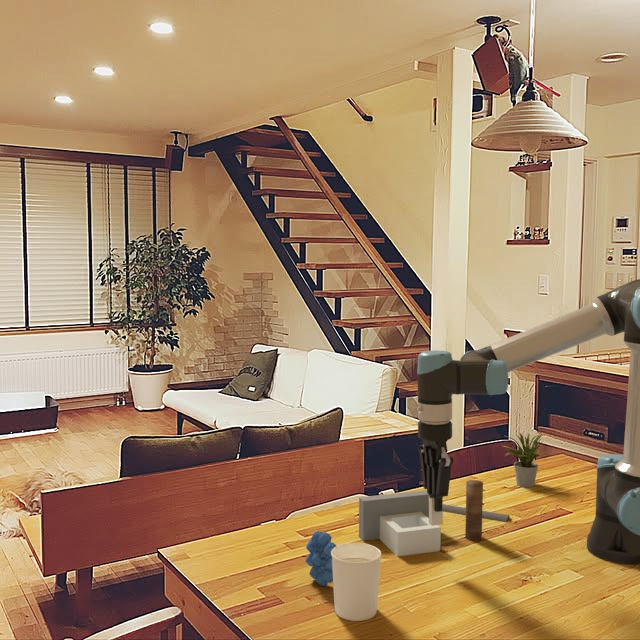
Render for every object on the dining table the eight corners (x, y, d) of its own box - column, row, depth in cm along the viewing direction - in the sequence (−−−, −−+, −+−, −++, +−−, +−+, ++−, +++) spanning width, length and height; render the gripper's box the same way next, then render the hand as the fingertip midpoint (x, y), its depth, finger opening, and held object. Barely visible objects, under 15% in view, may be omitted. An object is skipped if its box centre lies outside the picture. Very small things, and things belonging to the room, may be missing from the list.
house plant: (521, 473, 237) (522, 423, 236) (559, 484, 227) (561, 431, 225) (493, 482, 228) (494, 430, 227) (531, 493, 218) (533, 439, 216)
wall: (437, 531, 188) (437, 493, 187) (363, 540, 182) (363, 501, 181) (431, 527, 191) (432, 489, 190) (358, 536, 185) (359, 497, 184)
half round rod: (506, 524, 194) (506, 518, 194) (435, 512, 203) (435, 506, 203) (510, 519, 198) (510, 513, 198) (440, 507, 207) (440, 501, 207)
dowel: (484, 539, 183) (486, 484, 182) (470, 541, 182) (471, 485, 180) (476, 533, 187) (477, 479, 185) (462, 535, 185) (463, 480, 184)
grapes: (354, 591, 155) (354, 535, 154) (325, 598, 151) (326, 542, 150) (325, 570, 165) (326, 518, 164) (299, 577, 161) (299, 523, 160)
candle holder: (377, 599, 151) (378, 542, 150) (383, 623, 142) (384, 562, 140) (329, 599, 151) (329, 542, 150) (332, 623, 141) (332, 563, 140)
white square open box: (440, 551, 176) (440, 527, 175) (397, 557, 173) (397, 532, 172) (420, 534, 186) (420, 511, 186) (379, 539, 183) (379, 516, 183)
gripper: (407, 416, 170) (408, 516, 172) (432, 428, 157) (433, 536, 159) (437, 413, 172) (437, 512, 174) (464, 425, 160) (464, 531, 162)
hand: (435, 523), depth 167 cm, fingers closed
